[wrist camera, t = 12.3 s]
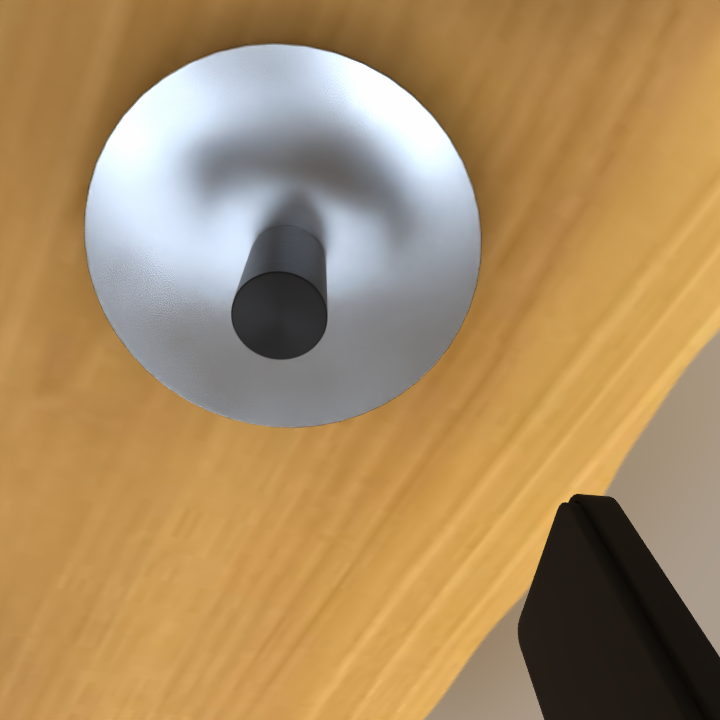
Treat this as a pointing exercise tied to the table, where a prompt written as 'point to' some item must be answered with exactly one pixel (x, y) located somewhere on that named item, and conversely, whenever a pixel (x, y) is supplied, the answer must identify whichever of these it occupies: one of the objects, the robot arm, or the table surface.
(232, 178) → the lid
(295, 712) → the table surface
